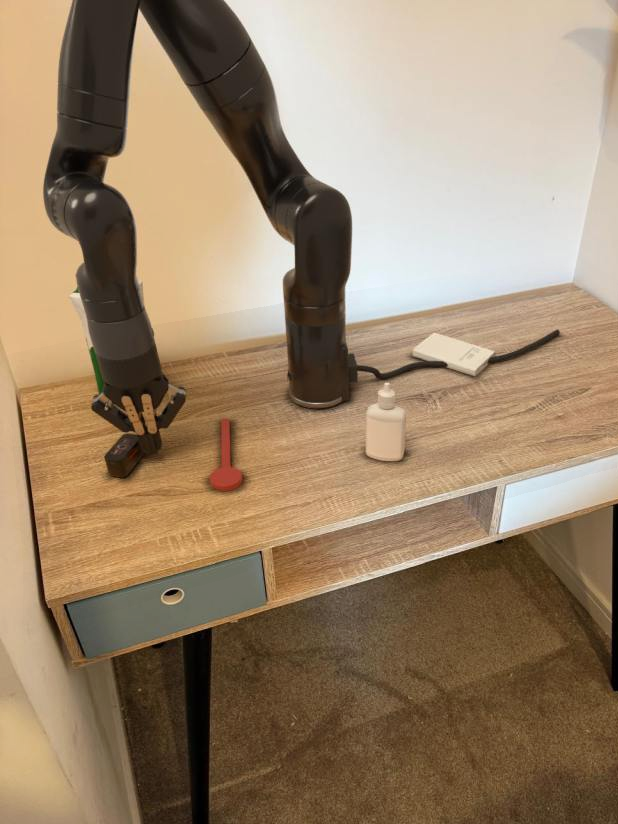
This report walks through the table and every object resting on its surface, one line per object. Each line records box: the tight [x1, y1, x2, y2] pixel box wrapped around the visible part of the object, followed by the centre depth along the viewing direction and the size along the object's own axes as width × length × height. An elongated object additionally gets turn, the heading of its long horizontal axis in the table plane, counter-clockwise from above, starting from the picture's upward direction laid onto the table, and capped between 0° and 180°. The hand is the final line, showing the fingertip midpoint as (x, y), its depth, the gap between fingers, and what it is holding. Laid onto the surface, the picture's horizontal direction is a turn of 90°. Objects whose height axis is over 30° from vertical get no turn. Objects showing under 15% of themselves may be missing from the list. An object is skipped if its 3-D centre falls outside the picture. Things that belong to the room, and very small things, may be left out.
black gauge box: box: [103, 432, 145, 478], centre depth 105 cm, size 5×7×3 cm, turn 168°
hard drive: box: [411, 332, 497, 377], centre depth 131 cm, size 2×8×12 cm
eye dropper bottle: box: [365, 382, 407, 462], centre depth 105 cm, size 4×6×12 cm
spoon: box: [209, 418, 243, 492], centre depth 108 cm, size 4×17×1 cm, turn 10°
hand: (153, 451), depth 106 cm, fingers closed
